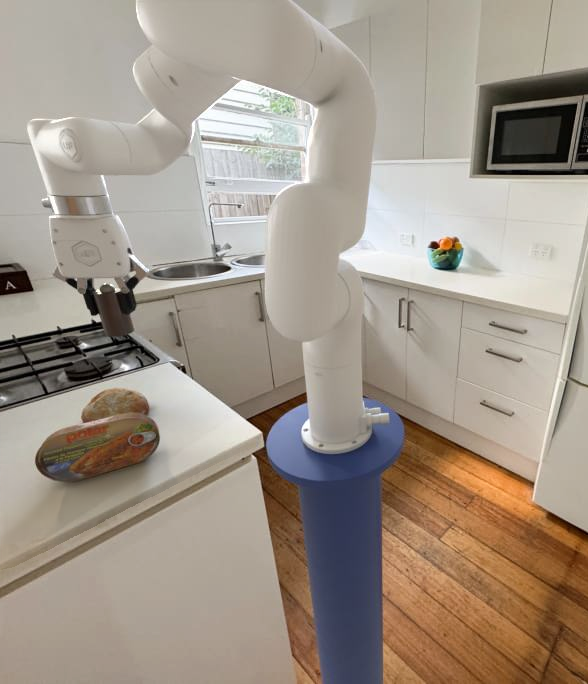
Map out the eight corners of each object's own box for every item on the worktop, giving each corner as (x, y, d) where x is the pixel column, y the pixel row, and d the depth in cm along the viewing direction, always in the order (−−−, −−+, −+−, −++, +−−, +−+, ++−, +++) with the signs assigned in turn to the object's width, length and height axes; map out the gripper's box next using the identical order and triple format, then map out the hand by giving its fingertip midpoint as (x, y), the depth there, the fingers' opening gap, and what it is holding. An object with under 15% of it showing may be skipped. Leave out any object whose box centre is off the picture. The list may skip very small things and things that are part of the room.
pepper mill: (138, 327, 73) (125, 280, 70) (128, 336, 69) (113, 286, 66) (112, 328, 72) (97, 280, 69) (100, 337, 68) (84, 287, 65)
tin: (46, 490, 56) (24, 444, 53) (50, 477, 59) (30, 432, 55) (165, 455, 64) (152, 413, 60) (164, 445, 66) (152, 404, 63)
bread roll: (100, 455, 68) (97, 428, 64) (70, 417, 71) (65, 389, 66) (158, 427, 76) (159, 402, 72) (129, 394, 79) (128, 368, 74)
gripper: (3, 208, 57) (46, 322, 64) (131, 210, 60) (158, 318, 68) (37, 204, 64) (72, 307, 71) (150, 206, 67) (172, 304, 74)
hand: (114, 311), depth 69 cm, fingers closed on pepper mill, 4 cm apart
